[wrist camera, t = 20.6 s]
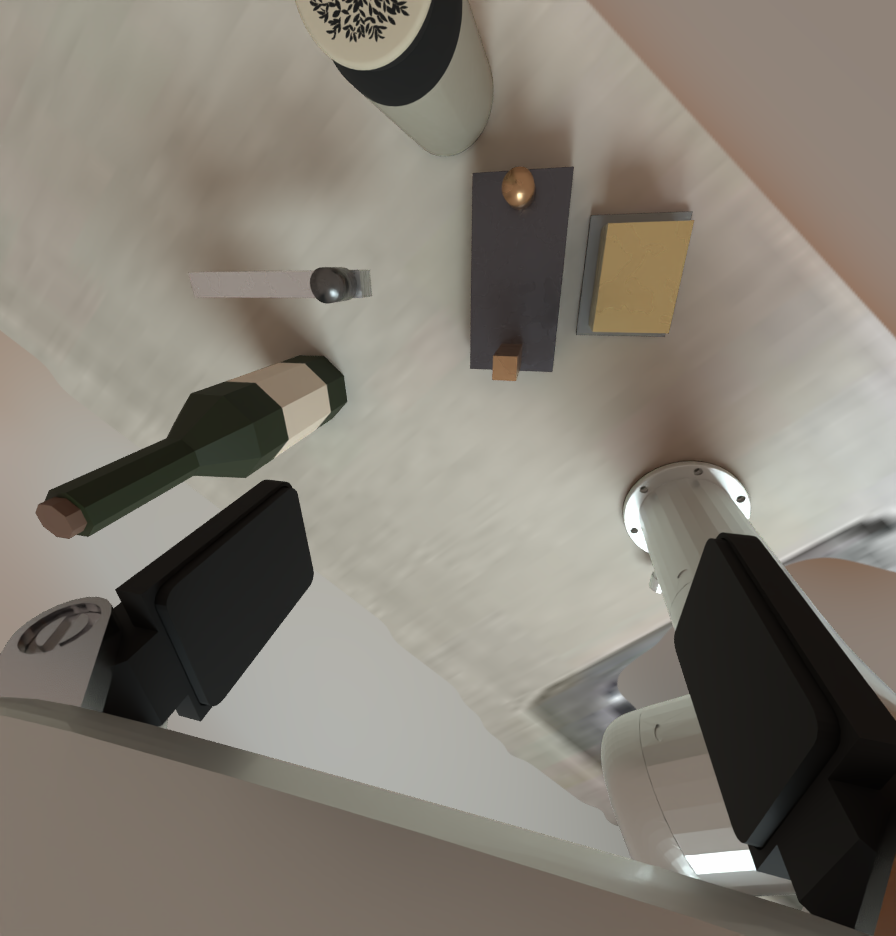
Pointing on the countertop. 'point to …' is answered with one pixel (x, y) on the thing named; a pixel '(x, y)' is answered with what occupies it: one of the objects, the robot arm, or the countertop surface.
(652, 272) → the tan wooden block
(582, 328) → the rubber mat
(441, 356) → the countertop surface
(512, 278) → the dark slate base plate
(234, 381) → the wine bottle
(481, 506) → the countertop surface
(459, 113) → the travel mug
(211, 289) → the bar
